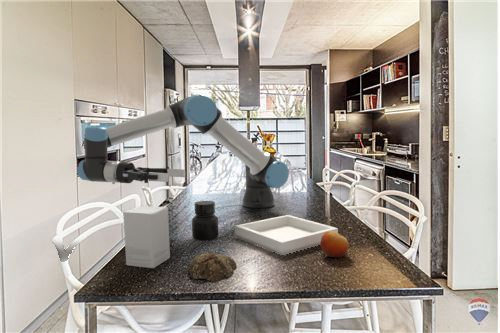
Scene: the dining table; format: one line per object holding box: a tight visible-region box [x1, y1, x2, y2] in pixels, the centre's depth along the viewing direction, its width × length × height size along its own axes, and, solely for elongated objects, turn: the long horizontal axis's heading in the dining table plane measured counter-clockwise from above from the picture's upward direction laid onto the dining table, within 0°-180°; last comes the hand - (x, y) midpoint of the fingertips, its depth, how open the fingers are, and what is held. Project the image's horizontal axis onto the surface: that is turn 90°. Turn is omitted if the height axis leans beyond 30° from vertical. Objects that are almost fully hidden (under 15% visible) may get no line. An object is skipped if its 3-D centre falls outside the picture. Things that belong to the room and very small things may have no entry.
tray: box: [234, 214, 339, 256], centre depth 126 cm, size 24×24×4 cm
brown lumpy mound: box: [187, 252, 237, 282], centre depth 99 cm, size 13×12×5 cm
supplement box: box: [122, 205, 171, 269], centre depth 106 cm, size 9×9×15 cm
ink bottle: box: [191, 200, 219, 242], centre depth 128 cm, size 10×9×12 cm
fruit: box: [320, 231, 350, 259], centre depth 109 cm, size 8×8×8 cm
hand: (176, 175), depth 130 cm, fingers open, 13 cm apart
